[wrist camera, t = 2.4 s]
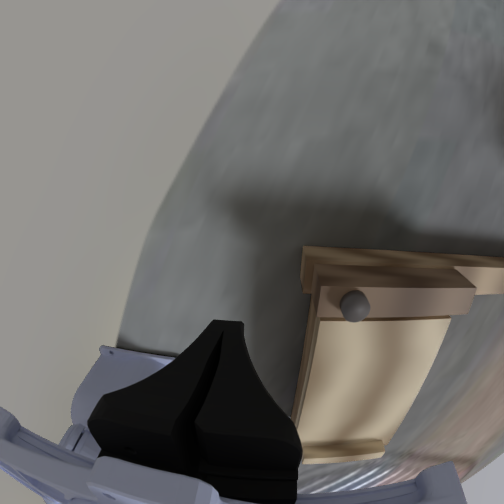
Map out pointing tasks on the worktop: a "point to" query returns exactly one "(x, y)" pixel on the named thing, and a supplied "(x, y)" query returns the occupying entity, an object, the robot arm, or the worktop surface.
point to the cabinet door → (389, 292)
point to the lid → (363, 383)
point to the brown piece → (470, 266)
